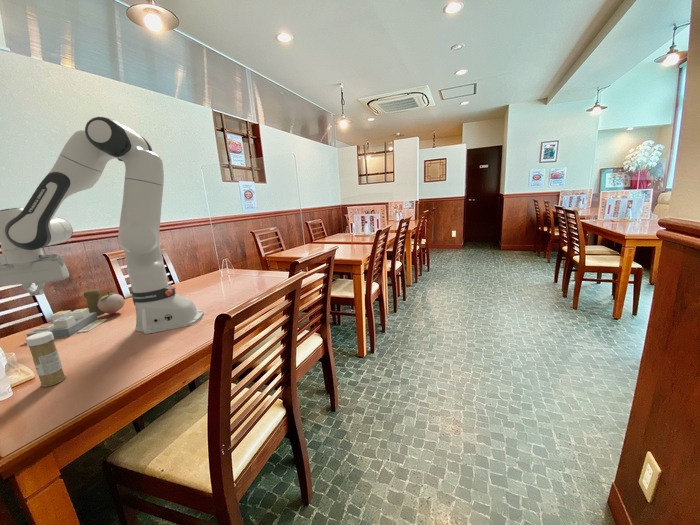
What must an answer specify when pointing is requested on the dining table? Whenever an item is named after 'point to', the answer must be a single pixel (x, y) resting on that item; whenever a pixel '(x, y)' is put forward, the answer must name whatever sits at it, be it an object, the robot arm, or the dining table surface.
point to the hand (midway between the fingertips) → (37, 294)
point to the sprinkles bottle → (46, 358)
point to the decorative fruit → (111, 303)
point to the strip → (91, 326)
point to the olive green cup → (93, 301)
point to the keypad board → (69, 330)
